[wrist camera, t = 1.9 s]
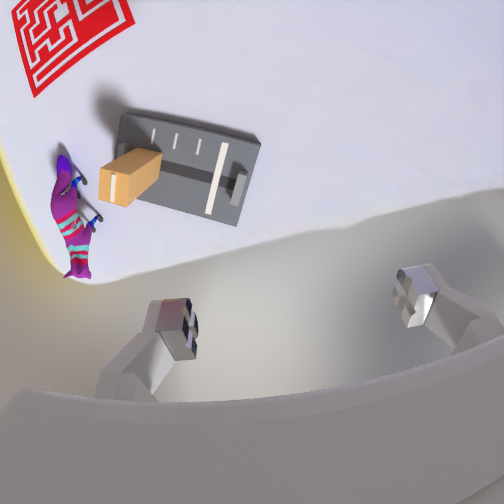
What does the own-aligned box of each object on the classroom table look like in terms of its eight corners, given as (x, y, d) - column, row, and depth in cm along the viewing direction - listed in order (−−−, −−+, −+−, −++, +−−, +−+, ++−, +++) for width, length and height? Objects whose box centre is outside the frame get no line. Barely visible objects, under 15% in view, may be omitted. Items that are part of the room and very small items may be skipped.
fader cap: (134, 172, 35) (97, 200, 27) (137, 147, 33) (99, 168, 26) (158, 178, 35) (125, 208, 28) (162, 153, 34) (128, 175, 26)
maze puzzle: (104, -64, 17) (102, -65, 16) (136, 24, 26) (134, 23, 26) (13, 11, 22) (11, 11, 21) (36, 97, 31) (33, 97, 31)
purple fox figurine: (103, 254, 45) (72, 292, 36) (59, 155, 36) (14, 179, 27) (120, 250, 44) (89, 290, 36) (75, 146, 35) (29, 169, 27)
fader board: (117, 188, 39) (107, 196, 36) (126, 113, 33) (115, 116, 30) (237, 221, 40) (234, 232, 37) (261, 143, 34) (259, 149, 31)
